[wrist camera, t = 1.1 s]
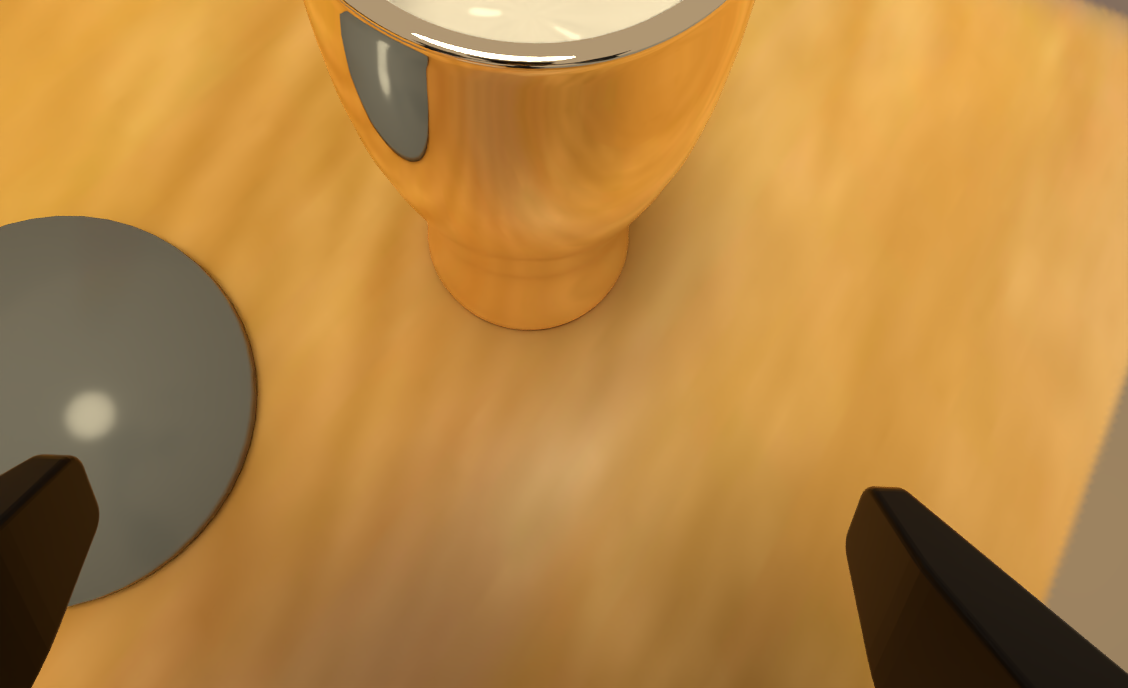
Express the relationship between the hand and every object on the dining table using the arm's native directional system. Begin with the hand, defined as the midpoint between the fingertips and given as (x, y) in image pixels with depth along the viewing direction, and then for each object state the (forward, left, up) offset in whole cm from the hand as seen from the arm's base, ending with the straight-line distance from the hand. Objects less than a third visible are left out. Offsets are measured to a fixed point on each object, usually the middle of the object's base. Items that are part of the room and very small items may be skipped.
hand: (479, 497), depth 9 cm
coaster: (+9, +9, -14) cm, 19 cm away
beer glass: (+6, -5, -14) cm, 16 cm away
